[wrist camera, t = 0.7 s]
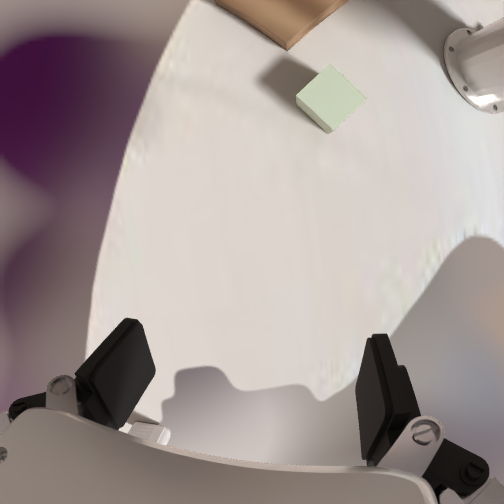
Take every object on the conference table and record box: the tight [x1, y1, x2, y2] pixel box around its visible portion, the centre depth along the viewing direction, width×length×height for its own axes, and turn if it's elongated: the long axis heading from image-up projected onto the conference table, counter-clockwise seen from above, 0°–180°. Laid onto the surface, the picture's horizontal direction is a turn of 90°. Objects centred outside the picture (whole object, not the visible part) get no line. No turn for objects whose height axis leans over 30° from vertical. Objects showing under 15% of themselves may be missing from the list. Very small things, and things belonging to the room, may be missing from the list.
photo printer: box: [128, 422, 171, 445], centre depth 51 cm, size 10×4×12 cm, turn 105°
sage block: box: [296, 64, 368, 134], centre depth 27 cm, size 5×5×6 cm
